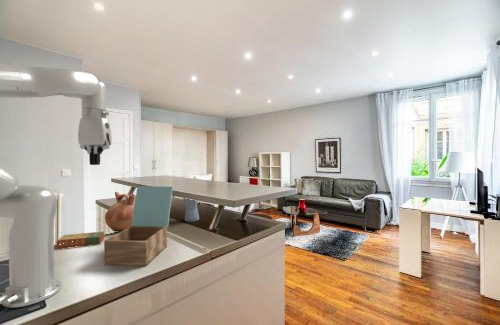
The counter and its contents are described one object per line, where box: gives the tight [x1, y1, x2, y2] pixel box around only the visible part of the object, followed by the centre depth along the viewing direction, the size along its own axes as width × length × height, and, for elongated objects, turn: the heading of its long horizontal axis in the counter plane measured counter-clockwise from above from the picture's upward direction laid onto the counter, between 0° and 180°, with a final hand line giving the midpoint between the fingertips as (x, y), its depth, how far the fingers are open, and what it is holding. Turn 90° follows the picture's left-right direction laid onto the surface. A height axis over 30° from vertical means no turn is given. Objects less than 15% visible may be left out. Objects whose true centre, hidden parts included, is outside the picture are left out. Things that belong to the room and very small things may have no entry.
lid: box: [131, 185, 174, 228], centre depth 107 cm, size 18×17×2 cm
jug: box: [104, 191, 136, 233], centre depth 128 cm, size 18×18×20 cm
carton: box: [56, 231, 105, 250], centre depth 106 cm, size 8×16×4 cm, turn 111°
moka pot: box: [182, 197, 201, 223], centre depth 146 cm, size 10×15×20 cm, turn 145°
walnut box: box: [103, 226, 168, 267], centre depth 94 cm, size 18×16×9 cm
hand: (94, 164), depth 86 cm, fingers closed
